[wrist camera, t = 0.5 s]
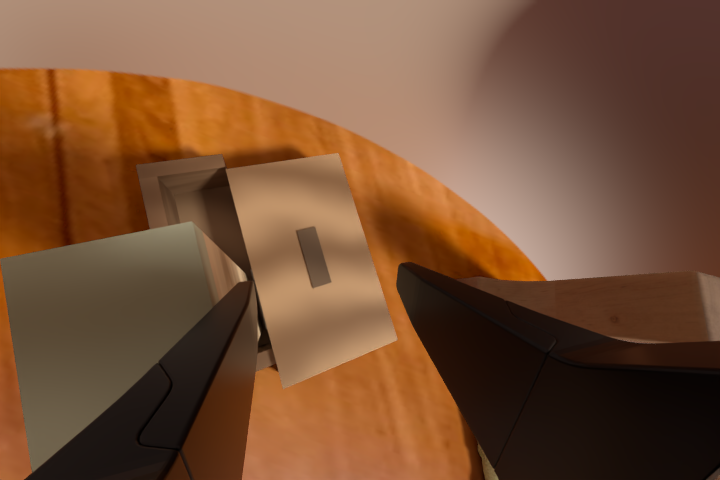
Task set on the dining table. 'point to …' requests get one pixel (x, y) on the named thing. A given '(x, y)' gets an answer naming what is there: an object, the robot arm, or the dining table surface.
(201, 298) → the tall beige rectangular block
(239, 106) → the dining table surface
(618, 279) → the wooden block
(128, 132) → the dining table surface
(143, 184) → the box with sliding lid
